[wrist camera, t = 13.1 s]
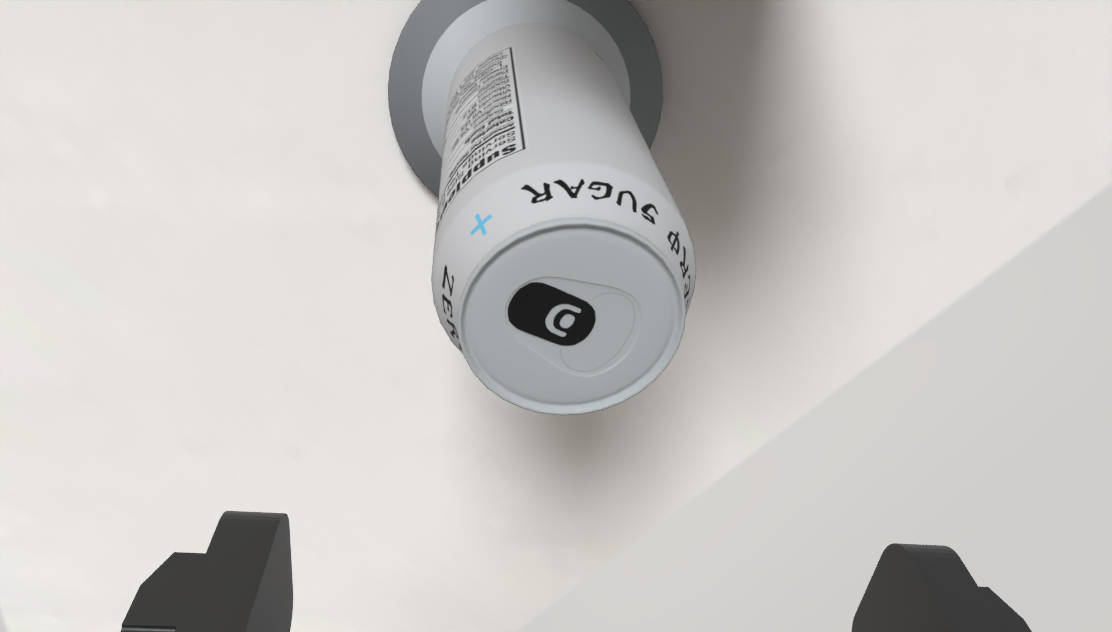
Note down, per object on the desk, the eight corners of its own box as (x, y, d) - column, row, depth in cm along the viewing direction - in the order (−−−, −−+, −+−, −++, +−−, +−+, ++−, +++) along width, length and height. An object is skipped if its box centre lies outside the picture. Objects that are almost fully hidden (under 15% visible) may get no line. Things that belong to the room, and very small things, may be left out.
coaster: (683, -30, 29) (687, -27, 28) (635, 231, 34) (637, 239, 33) (392, -66, 28) (390, -63, 27) (387, 210, 33) (385, 218, 32)
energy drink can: (564, 203, 32) (622, 467, 20) (421, 137, 30) (382, 382, 18) (644, 64, 30) (771, 265, 17) (492, -17, 28) (507, 141, 15)
